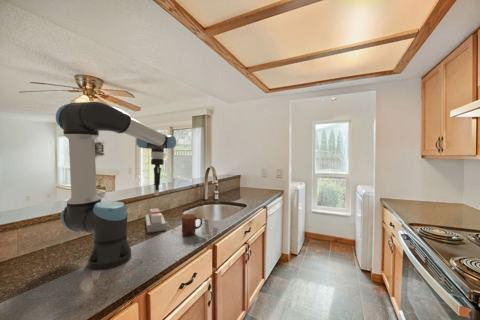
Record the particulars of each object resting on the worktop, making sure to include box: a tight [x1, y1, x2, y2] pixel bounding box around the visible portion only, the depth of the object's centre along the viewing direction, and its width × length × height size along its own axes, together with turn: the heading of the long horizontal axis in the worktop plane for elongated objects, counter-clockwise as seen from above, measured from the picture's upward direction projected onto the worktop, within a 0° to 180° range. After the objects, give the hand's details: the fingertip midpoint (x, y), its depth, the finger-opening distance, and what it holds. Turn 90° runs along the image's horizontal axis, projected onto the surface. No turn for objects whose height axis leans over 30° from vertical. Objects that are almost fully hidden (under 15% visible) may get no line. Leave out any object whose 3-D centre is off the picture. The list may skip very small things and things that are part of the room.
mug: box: [180, 213, 203, 237], centre depth 112 cm, size 12×9×10 cm
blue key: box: [149, 207, 160, 217], centre depth 133 cm, size 5×5×4 cm
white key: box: [151, 212, 161, 224], centre depth 119 cm, size 5×5×4 cm
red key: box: [151, 209, 161, 214], centre depth 126 cm, size 5×5×4 cm
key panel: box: [145, 212, 167, 233], centre depth 126 cm, size 10×23×4 cm, turn 27°
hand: (156, 195), depth 131 cm, fingers closed
